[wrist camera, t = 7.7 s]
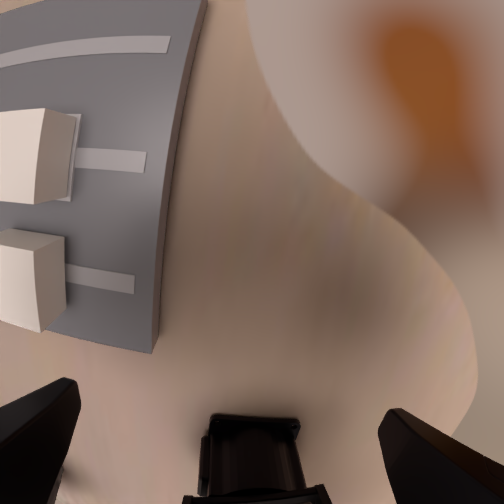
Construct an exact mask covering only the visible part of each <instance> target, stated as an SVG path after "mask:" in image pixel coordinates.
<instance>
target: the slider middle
mask: <svg viewBox="0 0 504 504" xmlns="http://www.w3.org/2000/svg"><path fill="white" fill-rule="evenodd" d="M75 122H76V117H73V116H70V115H66V114H63V113H60V112H56V111H53V110H50V109H46V108H40V109H27V110H16V111H6V112H0V201H5V202H15V203H25V204H38V203H42V202H47V201H52V200H56V199H61V198H66V194H67V182H68V172H69V163H70V155H71V147H72V140H73V134H74V128H75Z"/></svg>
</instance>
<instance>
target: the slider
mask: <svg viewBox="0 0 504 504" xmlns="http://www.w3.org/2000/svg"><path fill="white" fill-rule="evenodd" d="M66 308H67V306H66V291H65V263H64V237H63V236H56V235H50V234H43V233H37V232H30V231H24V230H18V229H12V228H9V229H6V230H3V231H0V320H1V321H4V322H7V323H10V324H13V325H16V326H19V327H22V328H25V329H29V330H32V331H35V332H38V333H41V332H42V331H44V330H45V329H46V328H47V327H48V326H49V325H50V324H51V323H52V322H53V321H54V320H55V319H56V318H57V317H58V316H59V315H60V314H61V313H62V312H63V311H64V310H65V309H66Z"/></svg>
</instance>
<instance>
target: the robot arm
mask: <svg viewBox="0 0 504 504" xmlns="http://www.w3.org/2000/svg"><path fill="white" fill-rule="evenodd" d="M80 410H81V399H80V394H79V389H78V384H77V382H76V381H75V380H72V379H69V378H65V377H63V378H60V379H58V380H56V381H54V382H52V383H50V384H48V385H46V386H44V387H42V388H40V389H38V390H36V391H34V392H31V393H29V394H27V395H25V396H23V397H21V398H19V399H17V400H15V401H13V402H11V403H8V404H6V405H4V406H2V407H0V504H47V503H48V500H49V498H50V495H51V492H52V490H53V487H54V485H55V482H56V480H57V477H58V475H59V472H60V470H61V467H62V465H63V462H64V460H65V457H66V455H67V452H68V449H69V446H70V443H71V439H72V436H73V433H74V429H75V426H76V422H77V419H78V416H79V413H80ZM216 421H219V422H216ZM292 425H294V426H292ZM300 427H301V425H300V422H299V420H297V419H270V418H251V417H237V416H225V415H213V416H212V417H211V418H210V424H209V432H208V436H203V437H202V438H201V449H200V460H199V475H198V492H197V494H198V495H199V496H202V497H193V496H191V495H184V497H183V501H182V504H332V502H331V500H330V498H329V495H328V493H327V491H326V489H325V487H324V484H319V485H315V486H314V487H310V488H307V487H306V483H305V479H304V475H303V471H302V467H301V463H300V459H299V454H298V450H297V446H296V442H295V440H296V438H297V435H298V433H299V430H300ZM378 437H379V441H380V446H381V450H382V455H383V459H384V464H385V468H386V472H387V476H388V479H389V482H390V485H391V488H392V491H393V494H394V497H395V500H396V503H397V504H504V466H503V465H501V464H499V463H497V462H495V461H493V460H491V459H489V458H487V457H486V456H483V455H482V454H480V453H478V452H476V451H474V450H473V449H471V448H469V447H467V446H465V445H464V444H462V443H460V442H458V441H457V440H455V439H453V438H451V437H449V436H448V435H446V434H444V433H442V432H441V431H439V430H437V429H436V428H434V427H432V426H430V425H429V424H427V423H425V422H424V421H422V420H420V419H419V418H417V417H415V416H414V415H412V414H410V413H409V412H407V411H405V410H404V409H402V408H394V409H389V410H388V411H387V413H386V414H385V416H384V418H383V420H382V422H381V424H380V426H379V428H378Z"/></svg>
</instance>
